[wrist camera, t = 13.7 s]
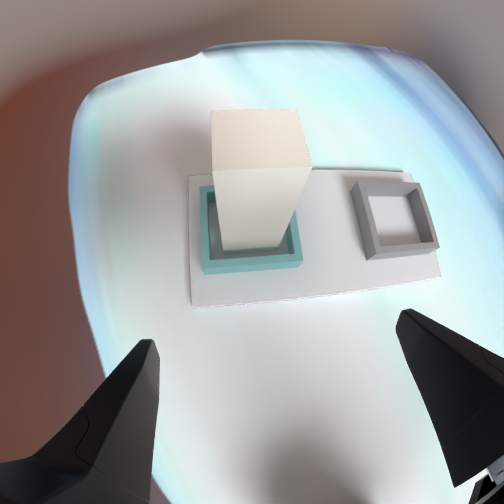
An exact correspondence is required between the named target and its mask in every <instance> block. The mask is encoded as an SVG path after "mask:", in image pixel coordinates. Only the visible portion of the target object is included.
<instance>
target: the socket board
mask: <svg viewBox="0 0 504 504" xmlns="http://www.w3.org/2000/svg"><path fill="white" fill-rule="evenodd" d="M438 248H440V247H439V243H438V240H437V236H436V232H435V229H434V225H433V222H432V219H431V215H430V212H429V209H428V206H427V203H426V200H425V197H424V194H423V192H422V189H421V186H420V183H415V182H414V180H413V177H412V174H411V173H403V172H387V171H366V170H311V172H310V174H309V177H308V179H307V181H306V184H305V186H304V189H303V191H302V193H301V196H300V198H299V201H298V203H297V205H296V208H295V210H294V212H293V215H292V217H291V219H290V222H289V224H288V226H287V229H286V231H285V233H284V236H283V238H282V240H281V243H280V245H279V247H278V250H277V251H267V252H254V253H241V254H228V255H224V253H223V246H222V239H221V232H220V225H219V218H218V210H217V203H216V196H215V188H214V180H213V174H205V175H194V176H189V254H190V281H191V300H192V307H193V308H203V307H218V306H231V305H243V304H255V303H265V302H276V301H285V300H295V299H304V298H312V297H320V296H328V295H336V294H344V293H351V292H358V291H365V290H372V289H378V288H385V287H391V286H397V285H403V284H409V283H415V282H421V281H426V280H432V279H436V278H439V277H441V272H440V268H439V263H438V259H437V255H436V249H438Z"/></svg>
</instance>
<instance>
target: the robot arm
mask: <svg viewBox="0 0 504 504" xmlns="http://www.w3.org/2000/svg"><path fill="white" fill-rule="evenodd" d="M396 333H397V336H398V339H399V341H400V344H401V347H402V350H403V353H404V356H405V359H406V361H407V364H408V366H409V369H410V371H411V373H412V375H413V377H414V380H415V382H416V384H417V386H418V389H419V391H420V393H421V396H422V398H423V401H424V403H425V405H426V408H427V410H428V413H429V415H430V418H431V421H432V423H433V426H434V428H435V431H436V434H437V436H438V439H439V442H440V445H441V447H442V451H443V454H444V457H445V460H446V463H447V466H448V469H449V473H450V476H451V479H452V483H453V486H454V488H455V487H457V486H459V485H461V484H462V483H464V482H465V481H467V480H469V479H470V478H472V477H473V476H475V475H476V474H478V473H479V472H481V471H482V470H484V469H485V468H486V470H487V472H488V474H486V475H485V476H484V477H482V478H481V479H480V480H479V481H477V482H476V483H475V486H474V489H473V492H472V495H471V498H470V501H469V504H504V358H502V357H500V356H498V355H496V354H494V353H492V352H491V351H489V350H487V349H485V348H483V347H482V346H479V345H478V344H476V343H474V342H472V341H471V340H469V339H467V338H465V337H463V336H462V335H460V334H458V333H456V332H454V331H452V330H450V329H449V328H447V327H445V326H443V325H441V324H439V323H437V322H436V321H434V320H432V319H430V318H428V317H426V316H424V315H423V314H421V313H419V312H417V311H415V310H413V309H406V310H402V311H401V313H400V316H399V319H398V322H397V324H396ZM159 374H160V357H159V354H158V351H157V348H156V346H155V343H154V341H153V340H152V339H142V340H140V341H139V342H138V343H137V344H136V346H135V347H134V348H133V349H132V350H131V351H130V352H129V353H128V355H127V356H126V357H125V358H124V359H123V360H122V361H121V362H120V364H119V365H118V366H117V367H116V368H115V369H114V370H113V371H112V373H111V374H110V375H109V376H108V377H107V378H106V380H105V381H104V382H103V383H102V384H101V385H100V386H99V387H98V389H97V390H96V391H95V392H94V393H93V395H92V396H91V397H90V398H89V399H88V400H87V401H86V402H85V404H84V406H82V407H81V408H80V409H79V410H78V412H77V413H76V414H75V415H74V416H73V417H72V418H71V419H70V421H69V422H68V423H67V424H66V425H65V426H64V427H63V428H62V429H61V430H60V431H59V432H58V433H57V434H55V435H54V436H53V437H52V438H51V439H50V440H49V441H48V442H47V443H46V444H45V445H44V446H43V447H42V448H41V449H40V450H38V451H37V452H36V453H35V454H33V455H32V456H29V457H27V458H24V459H19V460H13V461H7V462H1V463H0V504H150V503H149V502H150V487H151V473H152V460H153V449H154V439H155V429H156V420H157V412H158V404H159Z"/></svg>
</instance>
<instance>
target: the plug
mask: <svg viewBox="0 0 504 504" xmlns="http://www.w3.org/2000/svg"><path fill="white" fill-rule="evenodd" d="M211 140H212V172H213V180H214V188H215V196H216V203H217V210H218V218H219V225H220V232H221V239H222V246H223V253H224V255H228V254H241V253H254V252H267V251H277V250H278V247H279V245H280V243H281V240H282V238H283V236H284V233H285V231H286V229H287V226H288V224H289V222H290V219H291V217H292V215H293V212H294V210H295V208H296V205H297V203H298V201H299V198H300V196H301V193H302V191H303V189H304V186H305V184H306V181H307V179H308V177H309V174H310V172H311V169H312V163H311V159H310V155H309V151H308V147H307V144H306V140H305V136H304V133H303V129H302V126H301V122H300V119H299V115H298V112H297V109H245V110H225V111H211Z"/></svg>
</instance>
